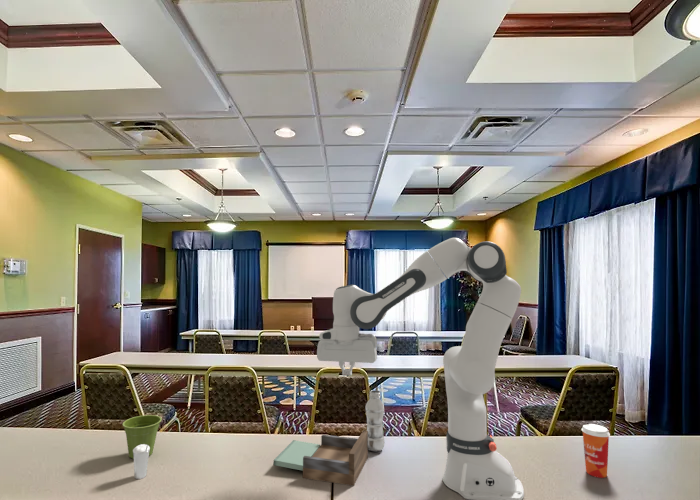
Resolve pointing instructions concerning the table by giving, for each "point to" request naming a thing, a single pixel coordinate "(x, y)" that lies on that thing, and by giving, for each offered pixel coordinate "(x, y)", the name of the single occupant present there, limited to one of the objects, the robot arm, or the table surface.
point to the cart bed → (337, 459)
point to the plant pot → (141, 431)
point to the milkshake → (140, 460)
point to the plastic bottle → (375, 421)
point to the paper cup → (596, 449)
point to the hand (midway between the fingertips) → (347, 375)
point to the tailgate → (295, 454)
